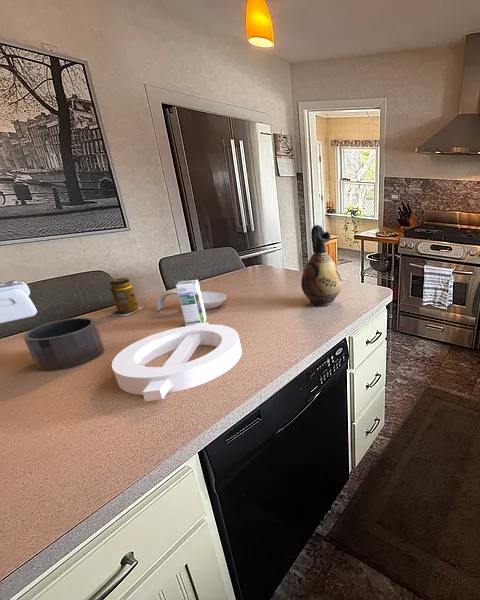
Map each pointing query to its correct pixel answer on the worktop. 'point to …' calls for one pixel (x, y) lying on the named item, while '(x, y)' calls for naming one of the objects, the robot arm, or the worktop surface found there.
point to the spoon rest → (208, 298)
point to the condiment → (123, 297)
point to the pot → (64, 343)
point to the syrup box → (191, 302)
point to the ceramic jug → (320, 272)
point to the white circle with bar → (176, 360)
